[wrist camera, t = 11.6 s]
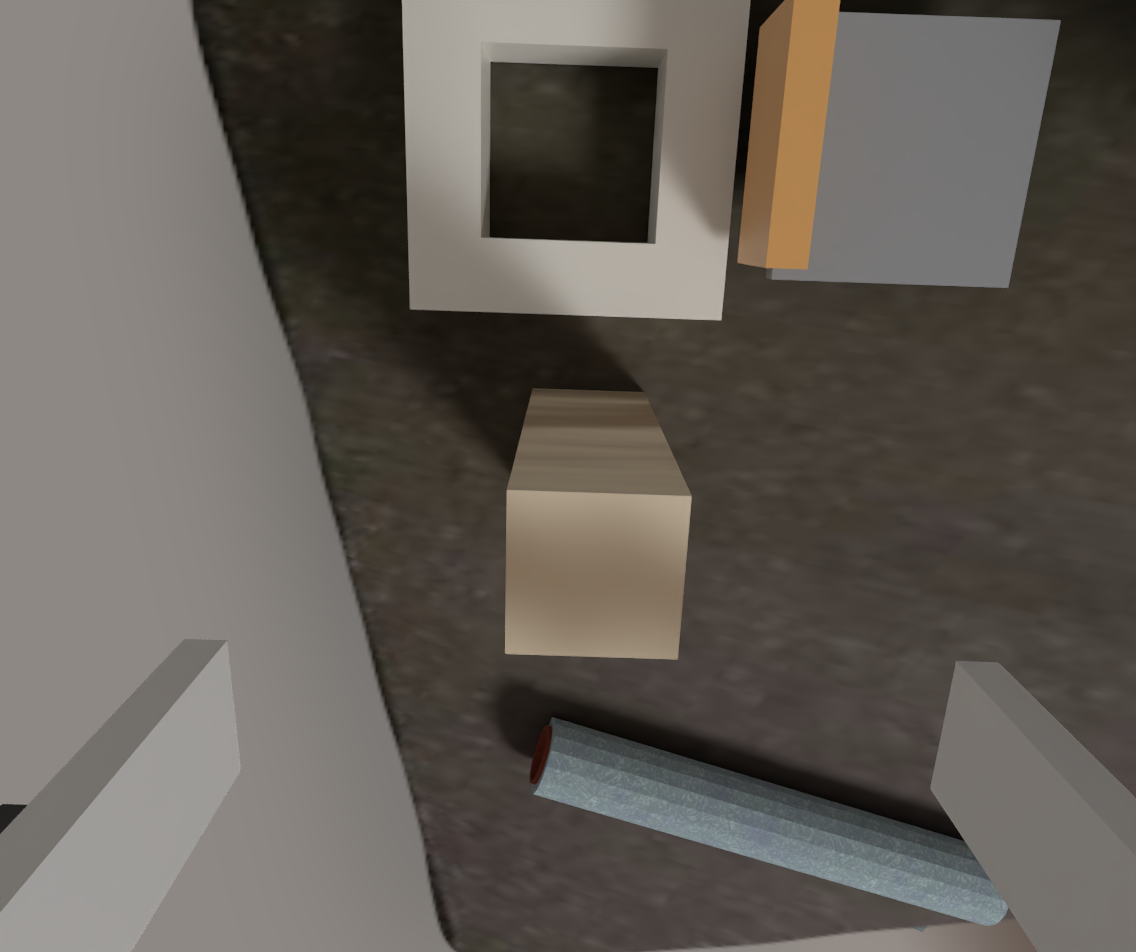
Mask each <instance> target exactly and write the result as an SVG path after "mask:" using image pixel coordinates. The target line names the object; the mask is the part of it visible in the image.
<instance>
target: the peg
mask: <svg viewBox="0 0 1136 952" xmlns="http://www.w3.org/2000/svg"><path fill="white" fill-rule="evenodd" d="M691 498H692V496H691V494H690V491H689V489H688V487H687V485H686V483H685V480H684V478H683V476H682V474H681V472H680V469H679V467H678V465H677V463H676V461H675V458H674V456H673V454H672V452H671V450H670V447H669V445H668V443H667V441H666V439H665V436H664V434H663V432H662V430H661V428H660V425H659V423H658V421H657V419H656V417H655V414H654V412H653V410H652V408H651V406H650V403H649V401H648V399H647V397H646V395H645V392H628V391H599V390H570V389H541V388H533V389H532V393H531V397H530V401H529V405H528V408H527V412H526V416H525V420H524V424H523V428H522V432H521V436H520V440H519V444H518V448H517V452H516V456H515V460H514V464H513V468H512V472H511V476H510V480H509V483H508V487H507V523H506V613H505V654H525V655H556V656H586V657H617V658H648V659H678V649H679V638H680V626H681V614H682V603H683V591H684V579H685V568H686V556H687V545H688V533H689V521H690V510H691Z"/></svg>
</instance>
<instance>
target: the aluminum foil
mask: <svg viewBox="0 0 1136 952" xmlns="http://www.w3.org/2000/svg"><path fill="white" fill-rule="evenodd" d="M530 783H531V792H532V793H533V794H534V795H538V796H541V797H545V798H548V799H552V800H555V801H559V802H562V803H565V804H569V805H572V806H576V807H579V808H583V809H586V810H589V811H593V812H596V813H600V814H603V815H607V816H610V817H614V818H617V819H620V820H624V821H627V822H631V823H634V824H638V825H641V826H645V827H648V828H651V829H655V830H658V831H662V832H665V833H669V834H672V835H676V836H679V837H682V838H686V839H689V840H693V841H696V842H700V843H703V844H706V845H710V846H713V847H717V848H720V849H724V850H727V851H731V852H734V853H737V854H741V855H744V856H748V857H751V858H755V859H758V860H762V861H765V862H768V863H772V864H775V865H779V866H782V867H786V868H789V869H792V870H796V871H799V872H803V873H806V874H810V875H813V876H817V877H820V878H823V879H827V880H830V881H834V882H837V883H841V884H844V885H848V886H851V887H854V888H858V889H861V890H865V891H868V892H872V893H875V894H879V895H882V896H885V897H889V898H892V899H896V900H899V901H903V902H906V903H909V904H913V905H916V906H920V907H923V908H927V909H930V910H934V911H937V912H940V913H944V914H947V915H951V916H954V917H958V918H961V919H965V920H968V921H971V922H975V923H979V924H982V925H985V926H989V925H994V924H997V923H998V922H999V921H1000V920H1001V919H1002V918H1003V917H1004V916H1005V914H1006V912H1007V910H1008V906H1007V904H1006V903H1005V901H1004V900H1003V898H1002V897H1001V895H1000V894H999V892H998V891H997V889H996V888H995V886H994V884H993V883H992V881H991V880H990V878H989V877H988V875H987V874H986V872H985V871H984V869H983V868H982V866H981V865H980V863H979V862H978V860H977V859H976V857H975V856H974V854H973V853H972V851H971V850H970V848H969V847H968V845H967V844H966V842H965V841H962V840H959V839H955V838H952V837H949V836H946V835H942V834H939V833H936V832H932V831H929V830H926V829H922V828H919V827H916V826H912V825H909V824H906V823H902V822H899V821H896V820H892V819H889V818H886V817H882V816H879V815H876V814H872V813H869V812H866V811H863V810H859V809H856V808H853V807H849V806H846V805H843V804H839V803H836V802H833V801H829V800H826V799H823V798H819V797H816V796H813V795H809V794H806V793H803V792H799V791H796V790H793V789H789V788H786V787H783V786H780V785H776V784H773V783H770V782H766V781H763V780H760V779H756V778H753V777H750V776H746V775H743V774H740V773H736V772H733V771H730V770H726V769H723V768H720V767H716V766H713V765H710V764H706V763H703V762H700V761H697V760H693V759H690V758H687V757H683V756H680V755H677V754H673V753H670V752H667V751H663V750H660V749H657V748H653V747H650V746H647V745H643V744H640V743H637V742H633V741H630V740H627V739H623V738H620V737H617V736H614V735H610V734H607V733H604V732H600V731H597V730H594V729H590V728H587V727H584V726H580V725H577V724H574V723H570V722H567V721H564V720H560V719H557V718H554V717H552V718H551V721H550V723H549V725H545V727H544V728H543V730H542V732H541V735H540V737H539V740H538V743H537V746H536V749H535V753H534V756H533V761H532V766H531V772H530ZM925 928H926V927H915V928H914V929H916V930H919V931H921V932H923V931H924V930H925Z"/></svg>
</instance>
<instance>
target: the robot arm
mask: <svg viewBox="0 0 1136 952" xmlns="http://www.w3.org/2000/svg"><path fill="white" fill-rule="evenodd" d="M236 729H237V728H236V719H235V709H234V700H233V691H232V681H231V672H230V662H229V653H228V643H227V641H226V640H193V639H191V640H190V639H184V640H183V641H182V642H181V643H180V644H179V645H178V646H177V647H176V648H175V650H173V652H172V653H171V654H170V655H169V656H168V657H167V658H166V659H165V660H164V661H163V662H162V663H161V664H160V665H159V666H158V667H157V668H156V669H155V671H154V672H153V673H152V674H151V675H150V676H149V677H148V678H147V679H146V680H145V681H144V682H143V683H142V684H141V685H140V687H139V688H138V689H137V690H136V691H135V692H134V693H133V694H132V695H131V696H130V697H129V698H128V699H127V700H126V701H125V703H123V704H122V706H121V707H120V708H119V709H118V710H117V711H116V712H115V713H114V714H113V715H112V716H111V717H110V718H109V719H108V720H107V722H105V724H104V725H103V726H102V727H101V728H100V729H99V730H98V731H97V732H96V733H95V734H94V735H93V737H91V738H90V739H89V740H88V742H87V743H86V744H85V745H84V746H83V747H82V748H81V749H80V750H79V751H78V752H77V753H76V754H75V755H74V757H72V759H71V760H70V761H69V762H68V763H67V764H66V765H65V766H64V767H63V768H62V769H61V770H60V771H59V772H58V773H57V774H56V775H55V777H54V778H53V779H52V780H51V781H50V782H49V783H48V784H47V785H46V786H45V787H44V788H43V789H42V790H41V791H40V792H39V793H38V795H37V796H36V797H35V798H34V799H33V800H32V801H31V802H30V803H29V804H28V805H12V804H2V805H1V806H0V952H131V951H132V950H133V948H134V946H135V945H136V943H137V941H138V940H139V938H140V936H141V935H142V933H143V932H144V930H145V928H146V927H147V925H148V923H149V922H150V920H151V918H152V917H153V915H154V913H155V912H156V910H157V908H158V907H159V905H160V903H161V902H162V900H163V899H164V897H165V895H166V894H167V892H168V890H169V889H170V887H171V885H172V883H173V882H174V880H175V879H176V877H177V875H178V874H179V872H180V871H181V869H182V867H183V865H184V864H185V862H186V861H187V859H188V857H189V856H190V854H191V852H192V850H193V849H194V847H195V846H196V844H197V842H198V841H199V839H200V838H201V836H202V834H203V833H204V831H205V829H206V828H207V826H208V824H209V823H210V821H211V819H212V818H213V816H214V814H215V813H216V811H217V809H218V808H219V806H220V804H221V803H222V801H223V799H224V798H225V796H226V794H227V793H228V791H229V790H230V788H231V786H232V785H233V783H234V781H235V780H236V778H237V776H238V775H239V773H240V771H241V766H240V756H239V748H238V737H237V730H236ZM930 789H931V791H932V792H933V794H934V795H935V797H936V798H937V800H938V801H939V803H940V804H941V806H942V807H943V809H944V810H945V812H946V813H947V815H948V816H949V818H950V819H951V821H952V822H953V824H954V825H955V827H956V828H957V830H958V831H959V833H960V834H961V836H962V838H963V839H964V841H965V842H966V844H967V845H968V847H969V848H970V850H971V851H972V853H973V854H974V856H975V857H976V859H977V860H978V862H979V863H980V865H981V866H982V868H983V869H984V871H985V872H986V874H987V875H988V877H989V878H990V880H991V881H992V883H993V884H994V886H995V888H996V889H997V891H998V892H999V894H1000V895H1001V897H1002V898H1003V900H1004V901H1005V903H1006V904H1007V906H1008V907H1009V909H1010V910H1011V912H1012V913H1013V915H1014V916H1015V918H1016V919H1017V921H1018V922H1019V924H1020V925H1021V927H1022V928H1023V930H1024V931H1025V933H1026V934H1027V936H1028V937H1029V939H1030V941H1031V942H1032V944H1033V945H1034V947H1035V948H1036V950H1037V951H1038V952H1136V798H1135V797H1134V796H1133V795H1132V794H1131V793H1130V792H1129V791H1128V790H1127V789H1126V788H1125V787H1124V786H1123V785H1122V784H1121V783H1120V782H1119V781H1118V780H1117V779H1116V778H1115V777H1114V776H1113V775H1112V774H1111V773H1110V772H1109V771H1108V770H1107V769H1106V768H1105V767H1104V766H1103V765H1102V764H1101V763H1100V762H1099V761H1098V760H1097V759H1096V758H1095V757H1094V756H1093V755H1092V754H1091V753H1090V752H1089V751H1088V750H1087V749H1086V748H1085V747H1084V746H1083V745H1082V744H1081V743H1080V742H1079V741H1078V740H1077V739H1076V738H1075V737H1073V736H1072V735H1071V734H1070V733H1069V732H1068V731H1067V730H1066V729H1065V728H1064V727H1063V726H1062V725H1061V724H1060V723H1059V722H1058V721H1057V720H1056V719H1055V718H1054V717H1053V716H1052V715H1051V714H1050V713H1049V712H1048V711H1047V710H1046V709H1045V708H1044V707H1043V706H1042V705H1041V704H1040V703H1039V702H1038V701H1037V700H1036V699H1035V698H1034V697H1033V696H1032V695H1031V694H1030V693H1029V692H1028V691H1027V690H1026V689H1025V688H1024V687H1023V686H1022V685H1021V684H1020V683H1019V682H1018V681H1017V680H1016V679H1015V678H1014V677H1013V676H1012V675H1011V674H1010V673H1009V672H1008V671H1007V670H1006V669H1005V668H1003V667H1002V666H1001V665H1000V664H999V663H998V662H968V661H956V665H955V670H954V675H953V680H952V685H951V689H950V694H949V699H948V704H947V709H946V714H945V719H944V724H943V729H942V733H941V738H940V743H939V748H938V753H937V758H936V763H935V768H934V773H933V777H932V782H931V787H930Z"/></svg>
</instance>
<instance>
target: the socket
mask: <svg viewBox="0 0 1136 952" xmlns="http://www.w3.org/2000/svg"><path fill="white" fill-rule="evenodd" d="M750 1H751V0H402V24H403V62H404V101H405V139H406V178H407V216H408V255H409V293H410V309H414V310H442V311H471V312H499V313H528V314H556V315H585V316H613V317H641V318H670V319H698V320H721V318H722V307H723V296H724V285H725V275H726V264H727V253H728V242H729V231H730V220H731V209H732V198H733V187H734V176H735V165H736V154H737V143H738V132H739V121H740V110H741V100H742V89H743V78H744V67H745V56H746V45H747V34H748V23H749V12H750ZM490 62H512V63H539V64H566V65H594V66H621V67H648V68H658V79H657V95H656V111H655V128H654V144H653V160H652V176H651V192H650V209H649V225H648V241H647V243H635V242H607V241H579V240H551V239H522V238H494V237H490Z"/></svg>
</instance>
